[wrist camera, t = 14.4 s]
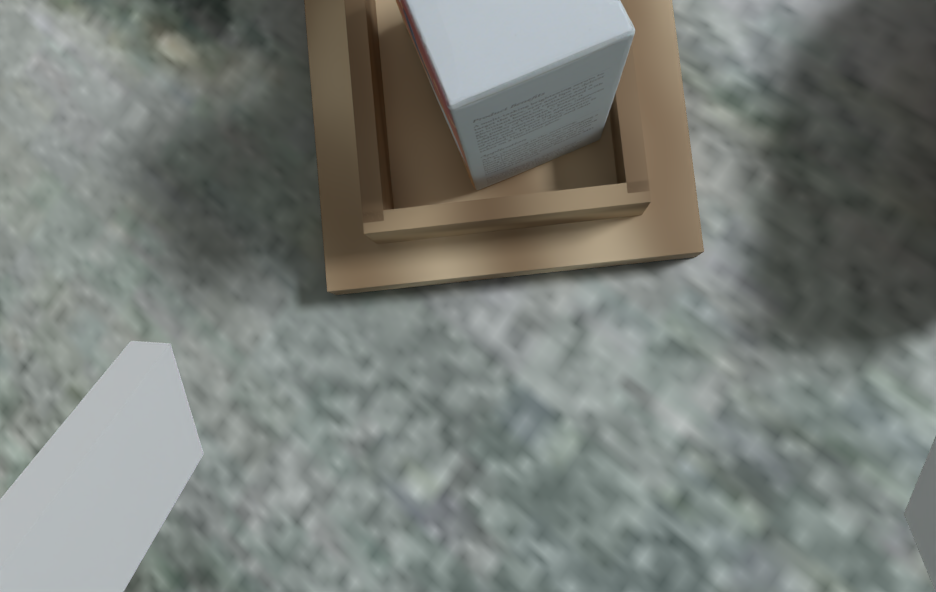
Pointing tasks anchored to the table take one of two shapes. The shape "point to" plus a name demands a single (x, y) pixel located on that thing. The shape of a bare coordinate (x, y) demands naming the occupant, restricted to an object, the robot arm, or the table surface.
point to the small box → (520, 75)
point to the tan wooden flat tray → (504, 203)
